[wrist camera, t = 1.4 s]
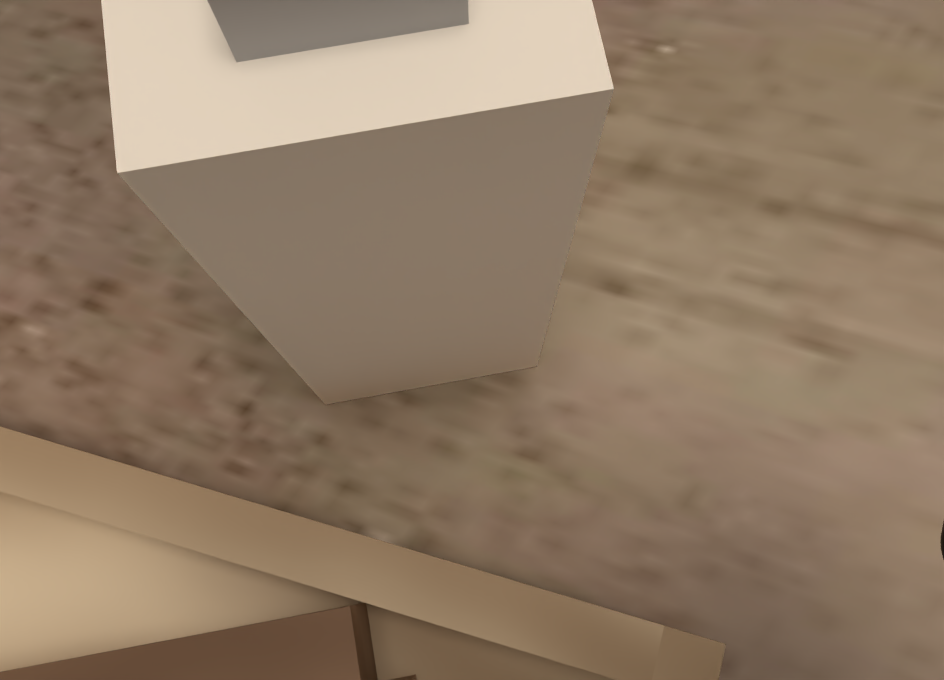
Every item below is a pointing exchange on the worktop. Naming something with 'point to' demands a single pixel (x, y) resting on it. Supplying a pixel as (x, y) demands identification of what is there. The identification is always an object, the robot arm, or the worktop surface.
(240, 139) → the white tall post
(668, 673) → the tray
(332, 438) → the worktop surface
